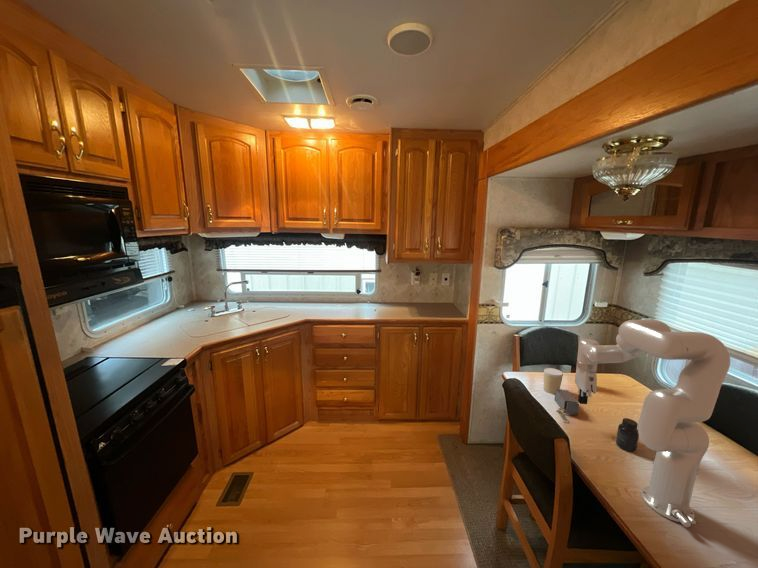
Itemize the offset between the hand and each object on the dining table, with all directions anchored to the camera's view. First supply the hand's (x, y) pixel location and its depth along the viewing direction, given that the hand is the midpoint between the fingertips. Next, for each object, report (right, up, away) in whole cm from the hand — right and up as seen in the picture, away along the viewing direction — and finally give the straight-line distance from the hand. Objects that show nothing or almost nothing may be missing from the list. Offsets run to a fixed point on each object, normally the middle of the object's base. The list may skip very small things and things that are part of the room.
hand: (582, 402), depth 134 cm
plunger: (0, -8, +14) cm, 17 cm away
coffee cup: (+4, -6, +32) cm, 33 cm away
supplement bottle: (+10, -14, -12) cm, 21 cm away
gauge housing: (0, -9, +13) cm, 16 cm away
